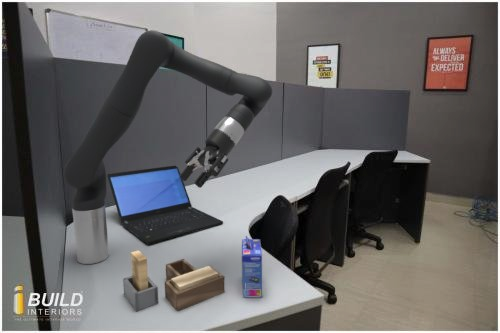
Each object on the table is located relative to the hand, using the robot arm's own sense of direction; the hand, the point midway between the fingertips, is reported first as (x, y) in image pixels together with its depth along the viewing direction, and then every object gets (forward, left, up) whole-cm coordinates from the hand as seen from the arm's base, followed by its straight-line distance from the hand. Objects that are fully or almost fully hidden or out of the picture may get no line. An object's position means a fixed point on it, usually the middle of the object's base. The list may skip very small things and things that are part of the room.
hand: (189, 182), depth 90 cm
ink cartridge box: (+13, +11, -29) cm, 34 cm away
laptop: (-48, +14, -29) cm, 58 cm away
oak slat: (0, -15, -29) cm, 32 cm away
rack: (+3, -3, -29) cm, 29 cm away
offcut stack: (+7, -3, -29) cm, 30 cm away
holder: (0, -15, -29) cm, 32 cm away
